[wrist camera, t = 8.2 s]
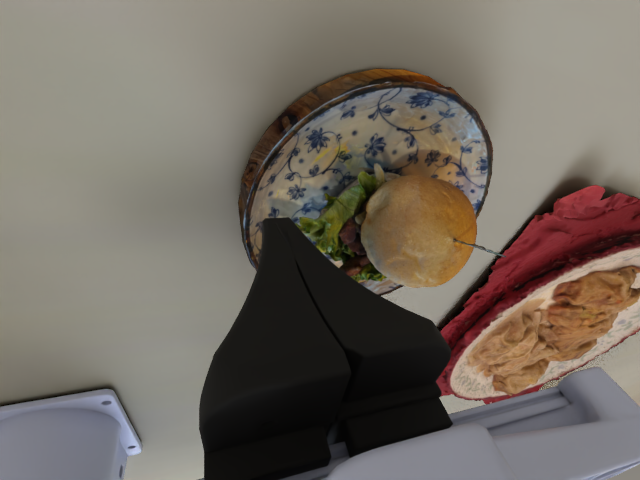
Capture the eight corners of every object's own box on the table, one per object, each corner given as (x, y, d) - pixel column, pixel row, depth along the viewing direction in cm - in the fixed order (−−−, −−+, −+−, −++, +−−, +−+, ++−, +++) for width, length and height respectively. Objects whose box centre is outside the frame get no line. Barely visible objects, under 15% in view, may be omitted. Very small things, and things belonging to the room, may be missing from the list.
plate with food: (716, 227, 29) (767, 251, 26) (525, 386, 42) (546, 413, 39) (561, 168, 19) (617, 196, 16) (374, 400, 32) (389, 436, 29)
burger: (185, 227, 14) (173, 390, 9) (379, -18, 10) (576, -7, 5) (355, 306, 21) (407, 423, 16) (506, 176, 18) (646, 270, 12)
